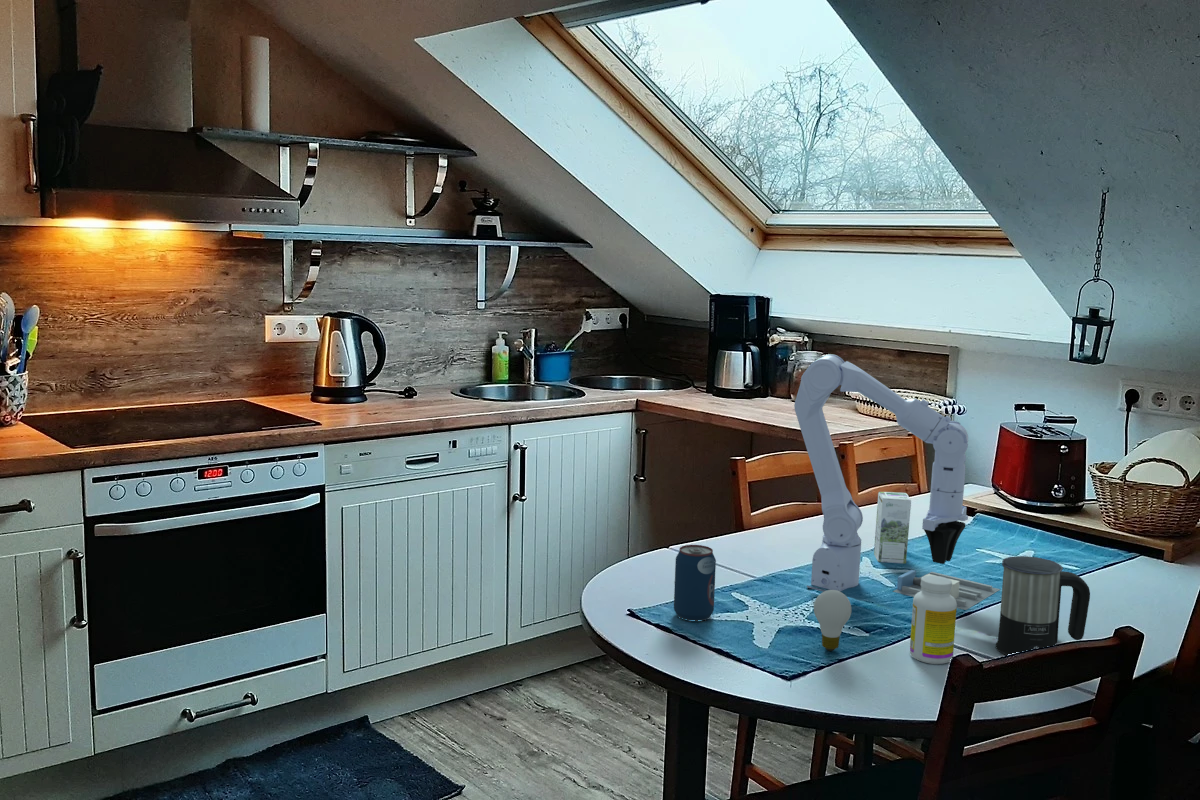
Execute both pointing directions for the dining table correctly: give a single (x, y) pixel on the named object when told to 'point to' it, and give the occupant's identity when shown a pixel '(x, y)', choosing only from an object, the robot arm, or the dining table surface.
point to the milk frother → (1037, 604)
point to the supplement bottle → (933, 621)
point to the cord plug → (954, 590)
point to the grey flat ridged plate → (967, 589)
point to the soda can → (694, 582)
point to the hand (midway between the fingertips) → (941, 561)
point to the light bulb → (832, 616)
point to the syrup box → (892, 527)
